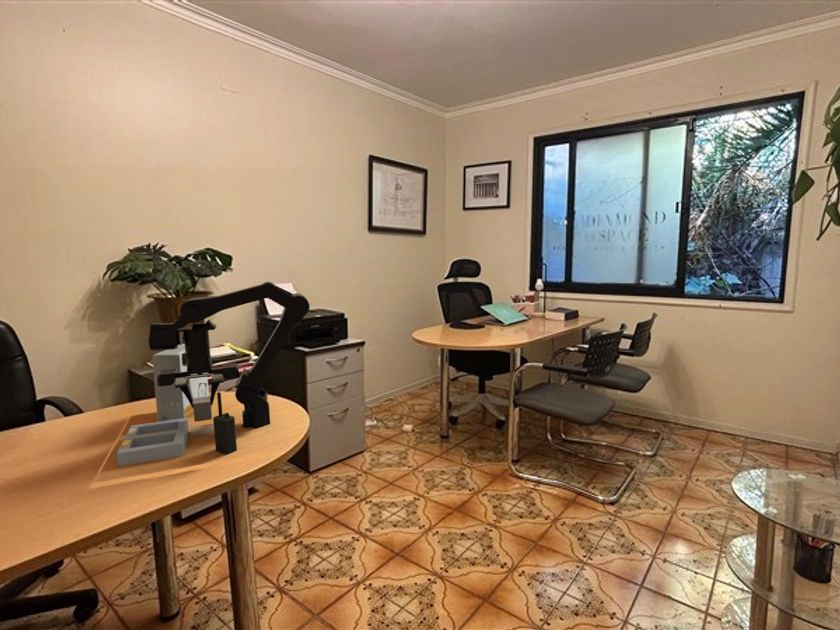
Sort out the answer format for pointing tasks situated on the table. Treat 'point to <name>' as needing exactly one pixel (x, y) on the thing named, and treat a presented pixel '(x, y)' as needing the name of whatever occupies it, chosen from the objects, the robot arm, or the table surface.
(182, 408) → the hard drive box
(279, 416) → the table surface
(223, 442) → the walkie-talkie
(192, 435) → the brown flat square plate
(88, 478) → the table surface
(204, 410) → the plug
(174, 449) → the dock
